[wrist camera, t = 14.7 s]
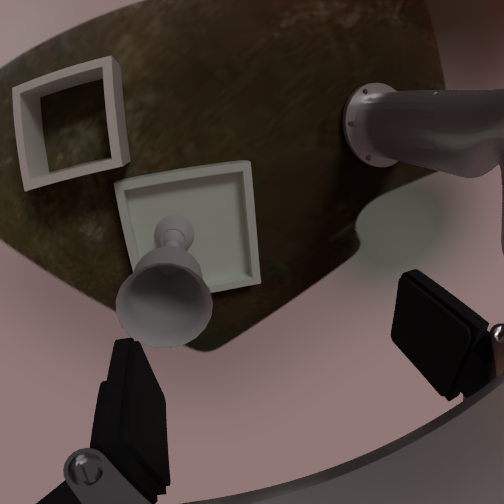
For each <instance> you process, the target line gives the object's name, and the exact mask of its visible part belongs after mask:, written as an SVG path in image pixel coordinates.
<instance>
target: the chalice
mask: <svg viewBox="0 0 504 504" xmlns="http://www.w3.org/2000/svg"><path fill="white" fill-rule="evenodd" d="M154 238H155V242H156V244H157V245H158V247H159V248H157V249H154V250H151V251H150V252H148V253H147V254H146V255H144V256H143V257H142V258H141V259H140V261H139V262H138V263H137V265H136V267H135V270H134V272H133V274H131V275H130V276H128V278H127V279H126V280H125V282H124V283H123V284H122V286H121V287H120V289H119V292H118V295H117V298H116V314H117V316H118V319H119V322H120V324H121V326H122V327H123V329H124V330H125V331H126V332H127V333H128V334H129V336H130V337H132V338H133V339H135V340H137V341H139V342H140V343H142V344H144V345H148V346H151V347H155V348H172V347H176V346H180V345H184V344H186V343H187V342H189V341H191V340H193V339H195V338H196V337H197V336H198V335H199V334H200V333H201V332H202V331H203V330H204V329H205V328H206V326H207V324H208V322H209V320H210V318H211V315H212V307H213V301H212V297H211V293H210V289H209V288H208V286H207V285H206V283H205V282H204V280H203V276H202V271H201V267H200V265H199V263H198V262H197V260H196V259H195V257H194V256H192V255H191V254H190V253H188V252H187V251H186V250H188V248H189V247H190V246H191V245H192V243H193V240H194V230H193V227H192V225H191V223H190V222H189V221H188V220H187V219H185V218H184V217H181V216H177V215H171V216H167V217H165V218H163V219H162V220H160V222H159V223H158V224H157V225H156V228H155V231H154Z"/></svg>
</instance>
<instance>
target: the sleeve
mask: <svg viewBox="0 0 504 504" xmlns="http://www.w3.org/2000/svg"><path fill="white" fill-rule="evenodd" d="M100 79H103V82H104V96H105V107H106V116H107V125H108V134H109V142H110V149H111V156H112V157H109V158H105V159H100V160H96V161H92V162H88V163H84V164H80V165H76V166H72V167H68V168H65V169H61V170H57V171H54V172H50V173H49V168H48V162H47V156H46V149H45V142H44V134H43V125H42V114H41V102H40V97H43V96H46V95H49V94H52V93H55V92H58V91H61V90H64V89H67V88H71V87H74V86H78V85H81V84H85V83H88V82H92V81H96V80H100ZM12 94H13V111H14V124H15V133H16V142H17V150H18V157H19V163H20V169H21V175H22V180H23V185H24V190H25V191H28V190H31V189H35V188H38V187H42V186H45V185H49V184H52V183H56V182H59V181H63V180H67V179H71V178H75V177H79V176H83V175H87V174H91V173H95V172H100V171H104V170H108V169H113V168H118V167H123V166H124V165H126V164H127V163H129V162H130V154H129V147H128V139H127V131H126V123H125V113H124V103H123V92H122V80H121V67H120V66H119V64H118V63H117V62H116V61H115V60H114V58H113V57H112V56H108V57H104V58H100V59H96V60H92V61H89V62H85V63H81V64H78V65H75V66H71V67H68V68H65V69H62V70H59V71H56V72H53V73H50V74H47V75H44V76H41V77H39V78H36V79H33V80H31V81H28V82H26V83H23V84H21V85H18V86H16V87H14V88H12Z"/></svg>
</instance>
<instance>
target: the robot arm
mask: <svg viewBox="0 0 504 504" xmlns="http://www.w3.org/2000/svg"><path fill="white" fill-rule="evenodd" d="M348 123H349V125H348ZM343 131H344V136H345V139H346V141H347V144H348V146H349V147H350V149H351V151H352V152H353V153H354V155H355V156H356V157H357V158H359V159H360V160H361V161H362V162H364V163H366V164H368V165H371V166H375V167H388V166H391V165H393V164H395V163H397V162H398V161H401V162H406V163H410V164H414V165H418V166H422V167H426V168H430V169H434V170H438V171H442V172H446V173H449V174H453V175H457V176H460V177H465V178H475V177H480V176H482V175H484V174H486V173H488V172H489V171H491V170H492V169H493V168H495V167H496V166H497V165H498V164H499V165H500V168H501V176H502V189H503V190H502V194H503V195H502V196H503V197H502V201H503V202H502V234H501V241H502V251H503V254H504V89H494V90H420V91H400V92H397V91H396V90H394V89H393V88H392V87H390V86H388V85H385V84H381V83H370V84H365V85H363V86H360V87H359V88H357V89H356V90H355V91H354V92H353V93H352V94H351V95H350V97H349V98H348V100H347V102H346V104H345V107H344V111H343ZM488 325H489V323H488V322H487V321H486V320H484V319H483V318H482V317H481V316H479V315H478V314H477V313H476V312H474V311H473V310H472V309H470V308H469V307H468V306H467V305H465V304H464V303H463V302H461V301H460V300H459V299H457V298H456V297H455V296H453V295H452V294H451V293H449V292H448V291H447V290H445V289H444V288H443V287H441V286H440V285H439V284H437V283H436V282H434V281H433V280H432V279H430V278H429V277H428V276H426V275H425V274H423V273H422V272H420V271H419V270H417V269H414V270H411V271H408V272H405V273H403V274H402V276H401V278H400V279H399V282H398V290H397V298H396V305H395V311H394V318H393V324H392V330H391V338H392V341H393V342H394V343H395V344H396V346H398V348H399V349H400V350H401V351H402V352H403V353H404V354H405V356H406V357H407V358H408V359H409V360H410V361H411V362H412V363H413V365H414V366H415V367H416V368H417V369H418V370H419V371H420V372H421V373H422V375H423V376H424V377H425V378H426V379H427V381H428V382H429V383H430V384H431V385H432V386H433V387H434V388H435V390H436V391H437V392H438V393H439V394H440V395H441V396H445V397H446V399H447V400H448V401H451V400H452V399H454V398H455V397H457V396H458V395H459V394H460V392H461V393H462V394H463V402H461V403H460V404H458V405H457V406H455V407H454V408H452V409H450V410H449V411H447V412H446V413H444V414H443V415H441V416H439V417H437V418H436V419H434V420H432V421H430V422H429V423H427V424H426V425H424V426H422V427H420V428H418V429H416V430H414V431H412V432H411V433H409V434H407V435H405V436H403V437H401V438H399V439H397V440H395V441H393V442H391V443H389V444H387V445H385V446H383V447H381V448H378V449H376V450H374V451H372V452H370V453H367V454H365V455H362V456H360V457H358V458H355V459H353V460H350V461H348V462H345V463H343V464H340V465H338V466H335V467H332V468H329V469H327V470H324V471H321V472H318V473H315V474H312V475H309V476H306V477H303V478H299V479H296V480H293V481H290V482H286V483H282V484H279V485H275V486H271V487H267V488H263V489H259V490H254V491H250V492H245V493H241V494H236V495H231V496H226V497H221V498H215V499H209V500H202V501H195V502H189V503H183V504H504V324H496V325H494V326H493V327H492V328H491V330H490V332H488V331H487V328H488ZM63 471H64V477H65V479H66V480H65V481H64V482H63V483H61V484H60V485H59V486H58V487H57V488H56V489H54V490H53V491H52V492H50V493H49V494H48V495H46V496H45V497H44V498H43V499H41V500H40V501H39V502H38V503H36V504H155V503H156V502H157V501H158V500H157V495H163V494H166V486H170V470H169V458H168V443H167V424H166V402H165V397H164V394H163V392H162V390H161V388H160V386H159V384H158V382H157V379H156V377H155V375H154V373H153V371H152V369H151V366H150V364H149V362H148V360H147V357H146V355H145V353H144V351H143V348H142V346H141V344H140V342H139V341H134V339H133V338H125V339H119V340H116V341H115V343H114V347H113V352H112V357H111V361H110V366H109V371H108V377H107V381H103V382H102V383H101V384H100V388H99V393H98V398H97V404H96V409H95V415H94V422H93V428H92V435H91V442H90V448H84V449H79V450H77V451H76V452H74V453H72V454H71V455H70V456H69V458H68V459H67V461H66V462H65V465H64V470H63Z"/></svg>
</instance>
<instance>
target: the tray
mask: <svg viewBox="0 0 504 504" xmlns="http://www.w3.org/2000/svg"><path fill="white" fill-rule="evenodd" d="M114 188H115V193H116V199H117V204H118V209H119V214H120V219H121V223H122V228H123V232H124V237H125V241H126V245H127V250H128V254H129V258H130V262H131V266H132V270H133V272H134V270H135V267H136V265H137V263H138V262H139V261H140V259H141V258H142V257H143V256H144V255H146V254H147V253H148V252H150V251H151V250H154V249H157V248H159V247H158V245H157V244H156V242H155V238H154V231H155V228H156V225H157V224H158V223H159V222H160V220H162V219H163V218H165V217H167V216H171V215H177V216H181V217H184V218H185V219H187V220H188V221H189V222H190V223H191V225H192V227H193V230H194V240H193V243H192V245H191V246H190V247H189V248H188V250H186V251H187V252H188V253H190V254H191V255H192V256H194V257H195V259H196V260H197V262H198V263H199V265H200V267H201V271H202V276H203V280H204V282H205V283H206V285H207V286H208V288H209V289H210V293H213V292H218V291H224V290H229V289H234V288H239V287H244V286H250V285H255V284H260V283H261V280H260V267H259V255H258V243H257V231H256V219H255V207H254V196H253V184H252V172H251V162H250V161H247V160H240V161H232V162H224V163H216V164H209V165H202V166H195V167H189V168H182V169H176V170H170V171H164V172H158V173H153V174H147V175H142V176H137V177H132V178H127V179H122V180H117V181H116V182H115V183H114Z"/></svg>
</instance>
